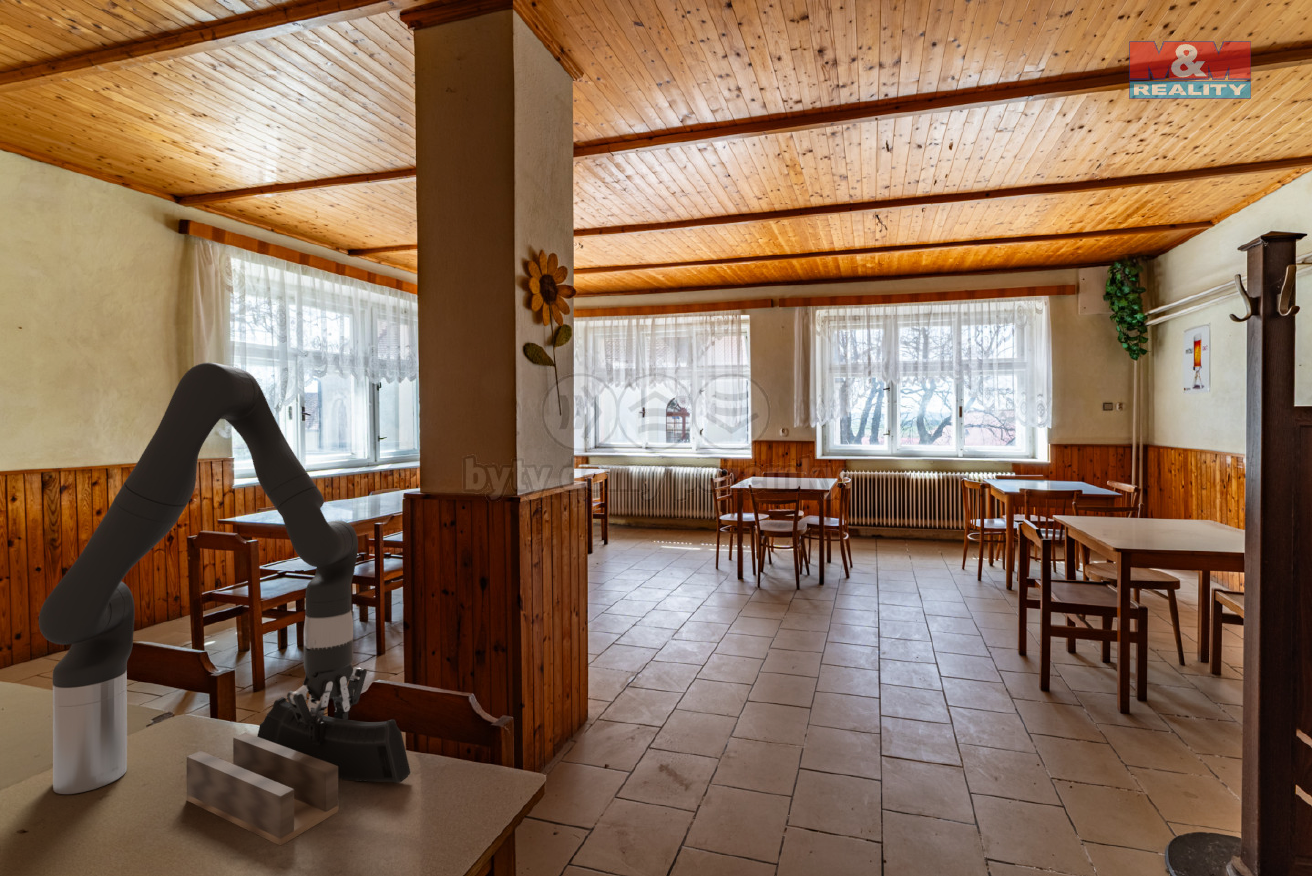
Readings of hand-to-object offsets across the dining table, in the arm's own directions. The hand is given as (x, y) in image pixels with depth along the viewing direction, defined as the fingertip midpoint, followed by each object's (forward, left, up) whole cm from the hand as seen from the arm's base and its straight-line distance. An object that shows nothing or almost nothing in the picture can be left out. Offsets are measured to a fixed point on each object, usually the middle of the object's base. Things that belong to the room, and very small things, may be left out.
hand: (328, 737), depth 108 cm
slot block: (0, -11, -6) cm, 13 cm away
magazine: (0, 0, -6) cm, 6 cm away
